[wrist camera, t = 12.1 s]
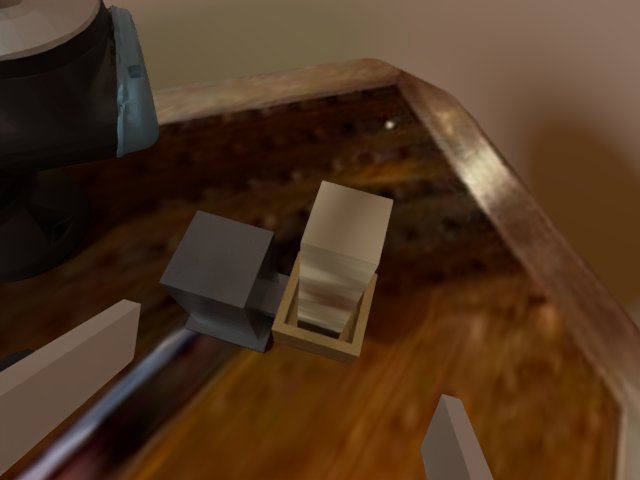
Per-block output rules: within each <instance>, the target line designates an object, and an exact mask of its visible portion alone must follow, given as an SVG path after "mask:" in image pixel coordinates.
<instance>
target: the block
mask: <svg viewBox="0 0 640 480" xmlns="http://www.w3.org/2000/svg"><path fill="white" fill-rule="evenodd" d="M392 204H393V200H391V199H388V198H384V197H380V196H377V195H373V194H369V193H366V192H362V191H358V190H355V189H351V188H348V187H344V186H340V185H337V184H333V183H329V182H326V181H322V184H321V187H320V190H319V192H318V195H317V198H316V201H315V204H314V206H313V209H312V212H311V215H310V218H309V221H308V223H307V226H306V229H305V232H304V235H303V237H302V240H301V250H300V274H299V298H298V321H297V327H299V328H302V329H305V330H308V331H312V332H315V333H318V334H321V335H325V336H328V337H331V338H335V339H338V338H339V336H340V334H341V332H342V330H343V328H344V327H345V325H346V323H347V321H348V319H349V318H350V316H351V314H352V312H353V310H354V309H355V307H356V305H357V303H358V301H359V299H360V298H361V296H362V294H363V292H364V290H365V289H366V287H367V285H368V283H369V281H370V280H371V278H372V276H373V274H374V272H375V270H376V269H377V267H378V265H379V261H380V257H381V252H382V248H383V243H384V239H385V234H386V230H387V226H388V221H389V217H390V212H391V208H392Z"/></svg>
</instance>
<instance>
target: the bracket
mask: <svg viewBox="0 0 640 480" xmlns="http://www.w3.org/2000/svg"><path fill="white" fill-rule="evenodd" d="M299 274H300V251H299V253H298V255H297V258H296V261H295V264H294V267H293V270H292V272H291V275H290V277H289V276H286V275H283V274H279V273H278V266H277V257H276V247H275V237H274V232H271V231H268V230H264V229H261V228H258V227H254V226H251V225H247V224H244V223H240V222H237V221H233V220H230V219H226V218H223V217H220V216H216V215H213V214H209V213H206V212H202V211H199V210H198V211H197V213H196V215H195V216H194V218H193V220H192V222H191V224H190V226H189V228H188V229H187V231H186V233H185V235H184V237H183V239H182V241H181V242H180V244H179V246H178V248H177V250H176V252H175V253H174V255H173V257H172V259H171V261H170V263H169V265H168V266H167V268H166V270H165V272H164V274H163V276H162V277H161V279H160V281H159V283H160V284H161V285H162V286H163V287H164V288H165V289H166V290H167V291H168V292H169V293H170V294H171V295H172V296H173V297H174V298H175V299H176V300H177V301H178V302H179V304H180V305H181V306H182V307H183V308H184V309H185V310H186V311H187V312H188V313H189V314H190V317H189V319H188V321H187V323H186V325H185V327H184V328H186V329H187V330H191V331H194V332H197V333H200V334H203V335H206V336H210V337H213V338H216V339H219V340H222V341H225V342H229V343H232V344H235V345H238V346H241V347H244V348H248V349H251V350H254V351H257V352H260V353H264V352H265V349H266V346H267V343H268V340H269V337H270V335H271V332H272V334H273V338H274V341H275V342H278V343H281V344H284V345H287V346H291V347H294V348H297V349H300V350H303V351H307V352H310V353H313V354H316V355H319V356H323V357H326V358H329V359H332V360H336V361H339V362H342V363H345V364H348V365H351V364H352V363H353V362H354V361H355V360H356V359H357V358H358V357H359V355H360V351H361V346H362V342H363V337H364V333H365V329H366V324H367V320H368V315H369V311H370V306H371V302H372V297H373V293H374V289H375V284H376V280H377V275H378V274H375V273H374V274H373V276H372V278H371V280H370V281H369V283H368V285H367V287H366V289H365V290H364V292H363V294H362V296H361V298H360V299H359V301H358V303H357V305H356V307H355V309H354V310H353V312H352V314H351V316H350V318H349V319H348V321H347V323H346V325H345V327H344V328H343V330H342V332H341V334H340V336H339V338H338V339H335V338H331V337H328V336H325V335H321V334H318V333H315V332H312V331H308V330H305V329H302V328H299V327H297V321H298V298H299Z"/></svg>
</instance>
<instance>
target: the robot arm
mask: <svg viewBox="0 0 640 480" xmlns="http://www.w3.org/2000/svg"><path fill="white" fill-rule="evenodd" d="M158 135H159V127H158V121H157V115H156V110H155V105H154V101H153V96H152V92H151V87H150V83H149V79H148V75H147V70H146V66H145V62H144V58H143V54H142V50H141V47H140V42H139V38H138V35H137V31H136V28H135V24H134V22H133V20H132V16H131V14H130V12H129V11H128V10H126V9H123V8H118V7H116V6H115V7H114V6H110V8H108V9H107V8H106V7H105V5H104V3H103V0H0V282H12V281H17V280H22V279H25V278H29V277H31V276H34V275H37V274H39V273H41V272H43V271H45V270H47V269H49V268H51V267H52V266H54V265H55V264H57V263H58V262H60V261H61V260H62V259H63V258H65V257H66V256H67V255H68V254H69V253H70V252H71V251H72V250H73V249H74V248H75V247H76V245H77V244H78V243H79V241H80V240H81V238H82V237H83V235H84V233H85V231H86V229H87V226H88V223H89V218H90V205H89V201H88V198H87V196H86V194H85V193H84V191H83V190H82V189H81V188H80V187H79V186H78V185H77V183H76V182H75V181H74V180H73V179H72V178H71V177H69V176H68V175H67V174H65V173H64V172H62V171H60V170H58V169H56V168H60V167H66V166H71V165H76V164H82V163H87V162H93V161H98V160H104V159H109V158H114V157H116V158H119V157H122V156H123V155H124V154H128V153H131V152H135V151H139V150H143V149H147V148H149V147H150V146H152V145H153V144H154V143H155V142H156V140H157V139H158ZM140 306H141V304H138V303H135V302H131V301H128V300H125V299H124V300H122V301H120V302H119V303H117V304H115V305H113V306H112V307H110V308H108V309H107V310H105V311H103V312H102V313H100V314H98V315H97V316H95V317H93V318H91V319H90V320H88V321H86V322H85V323H83V324H81V325H80V326H78V327H76V328H75V329H73V330H71V331H69V332H68V333H66V334H64V335H63V336H61V337H59V338H58V339H56V340H54V341H53V342H51V343H49V344H47V345H46V346H44V347H42V348H41V349H39V350H37V351H36V352H35V351H32V350H29V349H26V350H23V351H20V352H17V353H14V354H11V355H8V356H6V357H4V358H2V359H0V476H1V475H2V474H3V473H4V472H5V471H6V470H8V469H9V468H10V467H11V466H12V465H13V464H14V463H16V462H17V461H18V460H19V459H20V458H21V457H22V456H24V455H25V454H26V453H27V452H28V451H29V450H30V449H32V448H33V447H34V446H35V445H36V444H37V443H38V442H39V441H41V440H42V439H43V438H44V437H45V436H46V435H47V434H49V433H50V432H51V431H52V430H53V429H54V428H55V427H57V426H58V425H59V424H60V423H61V422H62V421H63V420H65V419H66V418H67V417H68V416H69V415H70V414H71V413H73V412H74V411H75V410H76V409H77V408H78V407H79V406H81V405H82V404H83V403H84V402H85V401H86V400H87V399H89V398H90V397H91V396H92V395H93V394H94V393H95V392H97V391H98V390H99V389H100V388H101V387H102V386H103V385H105V384H106V383H107V382H108V381H109V380H110V379H111V378H112V377H114V376H115V375H116V374H117V373H118V372H119V371H120V370H122V369H123V368H124V367H125V366H126V365H127V364H128V363H130V362H131V361H132V360H133V358H134V351H135V343H136V336H137V328H138V321H139V313H140ZM421 452H422V457H423V462H424V467H425V472H426V477H427V480H493V477H492V475H491V473H490V470H489V468H488V465H487V463H486V460H485V458H484V455H483V453H482V451H481V448H480V446H479V443H478V441H477V438H476V436H475V433H474V431H473V428H472V426H471V424H470V421H469V419H468V416H467V414H466V411H465V409H464V406H463V404H462V401H461V399H457V398H454V397H451V396H447V395H444V394H442V396H441V398H440V401H439V403H438V406H437V408H436V410H435V413H434V415H433V418H432V420H431V423H430V425H429V428H428V430H427V433H426V435H425V438H424V440H423V443H422V445H421Z"/></svg>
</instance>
